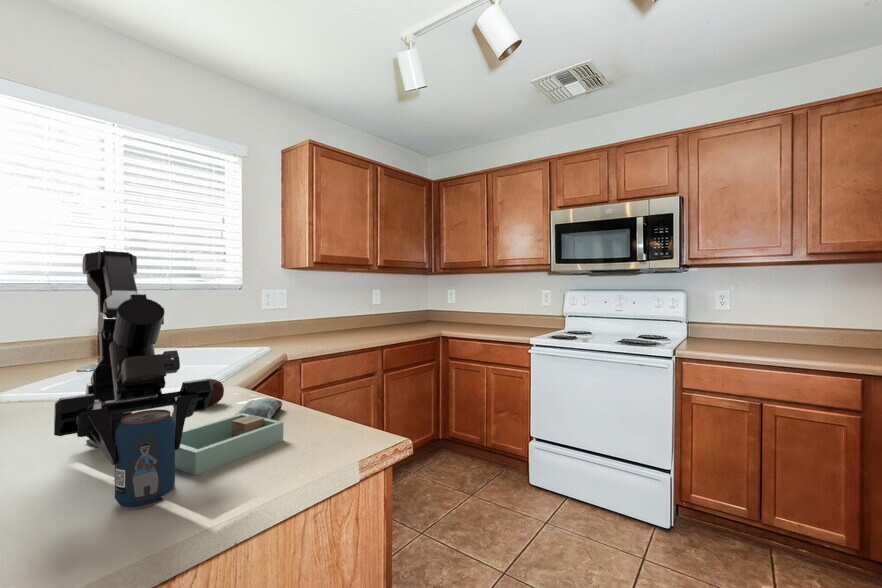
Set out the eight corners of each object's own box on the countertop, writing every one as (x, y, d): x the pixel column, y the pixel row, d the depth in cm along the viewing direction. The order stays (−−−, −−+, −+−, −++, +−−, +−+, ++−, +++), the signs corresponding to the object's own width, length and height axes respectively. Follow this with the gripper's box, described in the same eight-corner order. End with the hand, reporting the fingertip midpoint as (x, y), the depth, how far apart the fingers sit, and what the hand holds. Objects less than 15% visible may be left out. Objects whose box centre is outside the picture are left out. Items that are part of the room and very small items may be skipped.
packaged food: (227, 431, 85) (228, 408, 85) (246, 414, 97) (246, 394, 97) (270, 430, 87) (271, 407, 87) (283, 414, 98) (284, 394, 98)
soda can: (154, 483, 62) (155, 406, 62) (185, 492, 59) (186, 411, 59) (102, 505, 55) (103, 419, 55) (135, 516, 53) (136, 425, 53)
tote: (153, 465, 68) (153, 439, 68) (242, 434, 83) (242, 413, 83) (195, 481, 62) (195, 452, 62) (283, 445, 78) (283, 422, 78)
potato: (201, 401, 108) (202, 375, 108) (229, 402, 107) (230, 376, 107) (183, 409, 100) (183, 381, 100) (213, 410, 100) (213, 382, 100)
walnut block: (231, 441, 76) (231, 420, 76) (250, 435, 80) (250, 415, 80) (245, 445, 75) (245, 424, 75) (263, 438, 78) (263, 418, 78)
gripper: (55, 338, 53) (58, 443, 45) (210, 330, 66) (233, 410, 59) (53, 387, 59) (55, 488, 51) (196, 370, 72) (215, 448, 64)
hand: (147, 455), depth 56 cm, fingers closed on soda can, 7 cm apart
